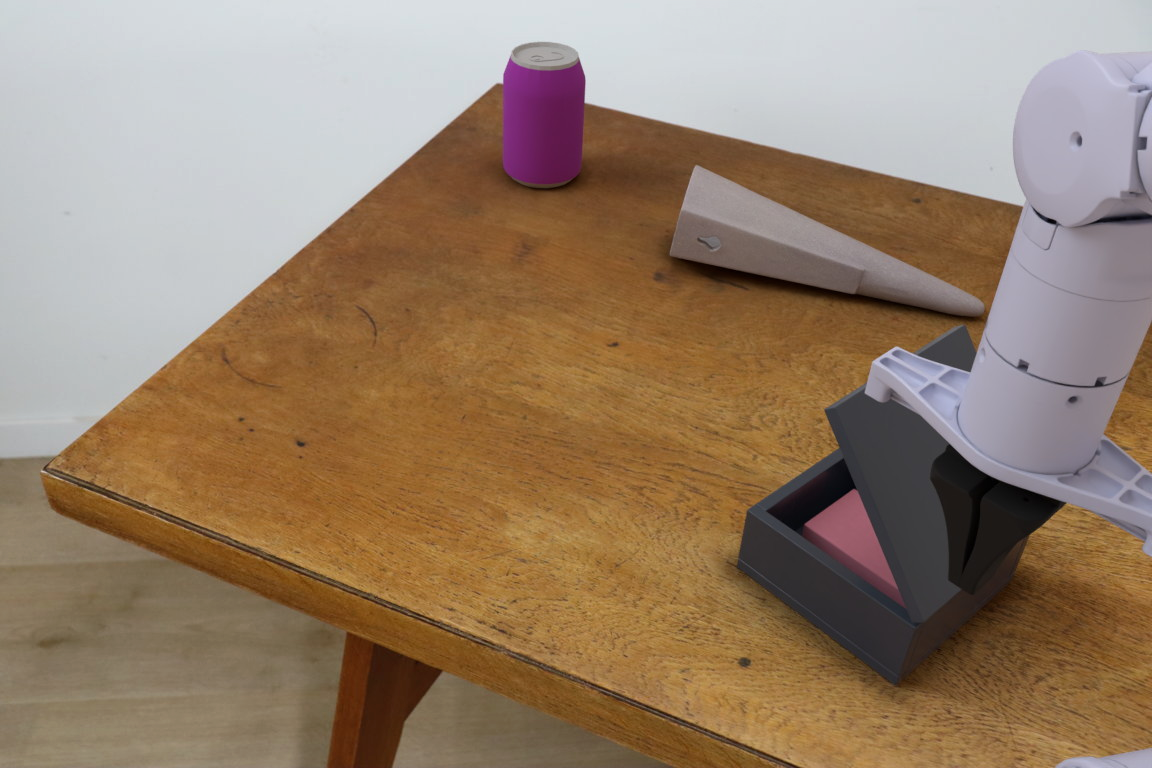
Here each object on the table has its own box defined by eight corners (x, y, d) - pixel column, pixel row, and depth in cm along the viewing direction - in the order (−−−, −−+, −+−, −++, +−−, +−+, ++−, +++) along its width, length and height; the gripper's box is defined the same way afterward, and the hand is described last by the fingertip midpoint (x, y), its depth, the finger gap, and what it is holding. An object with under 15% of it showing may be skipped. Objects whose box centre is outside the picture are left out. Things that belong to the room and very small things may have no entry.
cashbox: (736, 567, 67) (746, 509, 64) (855, 482, 74) (870, 426, 71) (895, 687, 61) (915, 628, 58) (1011, 581, 67) (1034, 524, 64)
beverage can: (524, 198, 104) (526, 74, 97) (489, 164, 109) (488, 45, 102) (595, 182, 107) (602, 62, 100) (558, 151, 112) (562, 34, 105)
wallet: (957, 583, 66) (965, 559, 65) (908, 625, 63) (916, 601, 62) (847, 511, 70) (853, 487, 69) (798, 547, 68) (803, 523, 66)
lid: (823, 409, 57) (834, 407, 56) (954, 326, 63) (965, 323, 63) (911, 622, 58) (923, 623, 57) (1031, 519, 64) (1043, 518, 64)
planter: (996, 227, 94) (701, 149, 96) (1003, 276, 87) (684, 191, 89) (962, 302, 99) (681, 226, 101) (966, 355, 92) (664, 272, 94)
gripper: (1281, 391, 43) (1155, 624, 51) (954, 243, 51) (891, 464, 59) (1205, 469, 39) (1082, 708, 47) (864, 295, 47) (810, 524, 55)
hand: (970, 577), depth 53 cm, fingers closed
